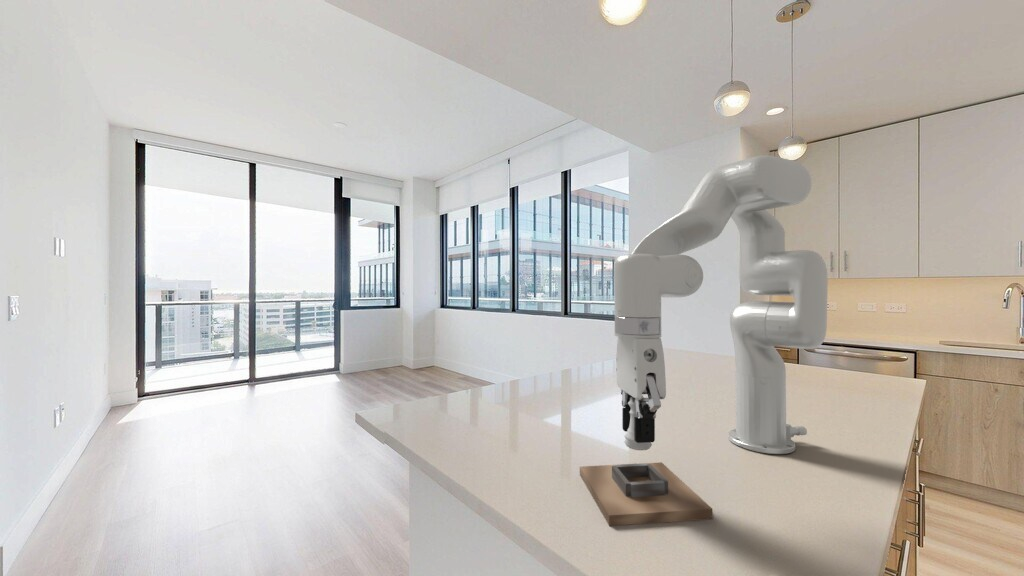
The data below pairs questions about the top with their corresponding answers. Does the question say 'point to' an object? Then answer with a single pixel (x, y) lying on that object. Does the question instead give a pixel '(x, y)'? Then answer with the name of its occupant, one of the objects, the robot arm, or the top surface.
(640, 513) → the jig board
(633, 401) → the rook chess piece
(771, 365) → the robot arm
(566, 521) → the top surface
